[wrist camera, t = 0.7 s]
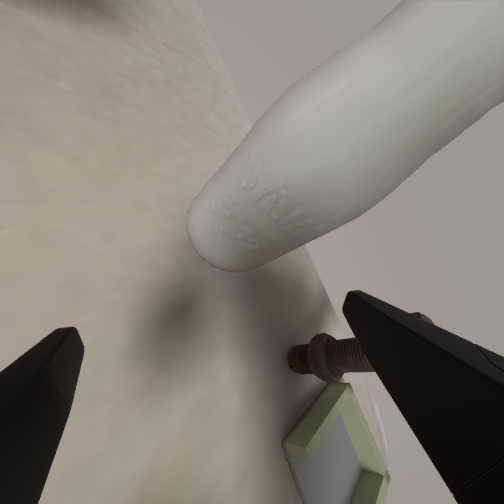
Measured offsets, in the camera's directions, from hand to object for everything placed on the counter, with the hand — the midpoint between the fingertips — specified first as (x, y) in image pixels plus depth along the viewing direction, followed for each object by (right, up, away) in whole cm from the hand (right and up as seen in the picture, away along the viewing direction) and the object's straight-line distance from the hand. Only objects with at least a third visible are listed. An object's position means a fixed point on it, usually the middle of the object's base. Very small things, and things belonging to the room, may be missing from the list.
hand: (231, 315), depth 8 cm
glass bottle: (-4, +3, +19) cm, 20 cm away
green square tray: (+9, -21, +18) cm, 29 cm away
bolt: (+6, -11, +21) cm, 24 cm away
